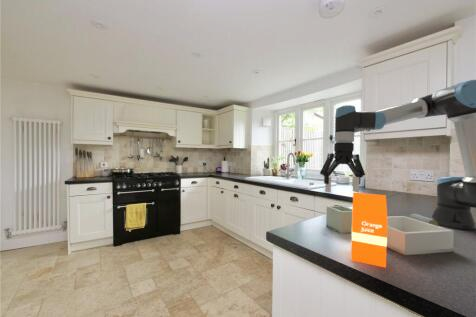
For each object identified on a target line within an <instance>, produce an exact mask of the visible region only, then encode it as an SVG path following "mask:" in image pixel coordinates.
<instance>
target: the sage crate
mask: <svg viewBox="0 0 476 317" xmlns="http://www.w3.org/2000/svg"><path fill="white" fill-rule="evenodd" d="M352 209H353V208H351V207H350V208H349V207H347V206H344V205H327V206H326V216H325V217H326V221H325V227H327V228H329V229H331V230H333V231H334V230H335V232H336V233H339V235H347V234H350V235H352Z"/></svg>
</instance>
